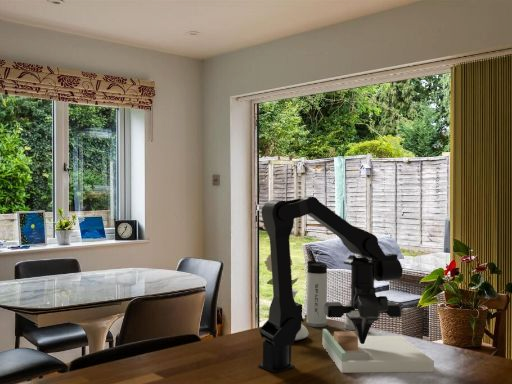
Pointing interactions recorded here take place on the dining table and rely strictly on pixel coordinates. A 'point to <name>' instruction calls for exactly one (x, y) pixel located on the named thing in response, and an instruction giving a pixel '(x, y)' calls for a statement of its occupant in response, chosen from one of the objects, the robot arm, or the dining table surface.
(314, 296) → the travel mug
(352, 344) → the block
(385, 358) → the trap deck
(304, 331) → the flower in vase
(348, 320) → the rook chess piece
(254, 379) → the dining table surface
